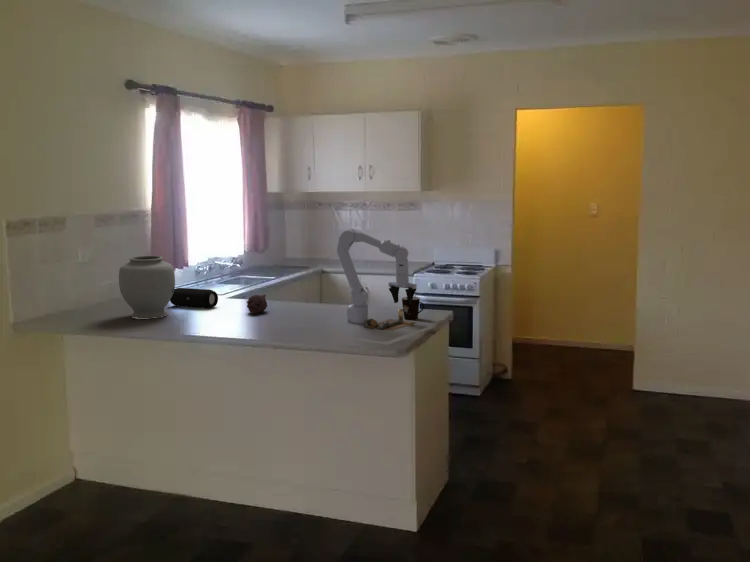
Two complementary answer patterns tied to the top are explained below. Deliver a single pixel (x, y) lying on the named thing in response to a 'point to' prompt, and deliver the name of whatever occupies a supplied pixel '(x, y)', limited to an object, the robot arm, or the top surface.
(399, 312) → the lever
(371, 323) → the walnut
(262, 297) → the pine cone
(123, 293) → the grey ceramic vase
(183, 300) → the portable speaker
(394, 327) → the board
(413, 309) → the coffee mug
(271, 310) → the top surface
